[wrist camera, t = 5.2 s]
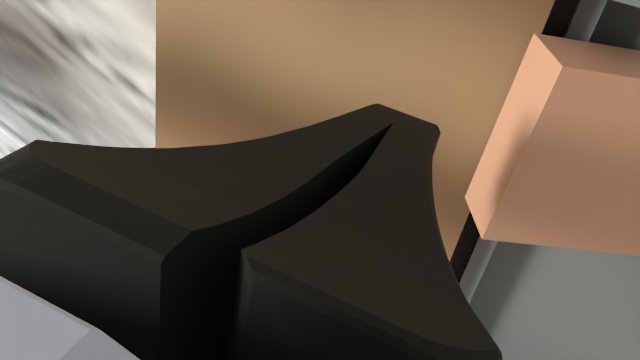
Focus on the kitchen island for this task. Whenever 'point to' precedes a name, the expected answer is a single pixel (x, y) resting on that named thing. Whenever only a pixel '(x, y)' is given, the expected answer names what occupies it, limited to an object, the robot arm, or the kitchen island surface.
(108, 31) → the kitchen island surface
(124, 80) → the kitchen island surface
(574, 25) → the tray
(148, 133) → the kitchen island surface
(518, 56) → the walnut board
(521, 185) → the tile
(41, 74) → the kitchen island surface
